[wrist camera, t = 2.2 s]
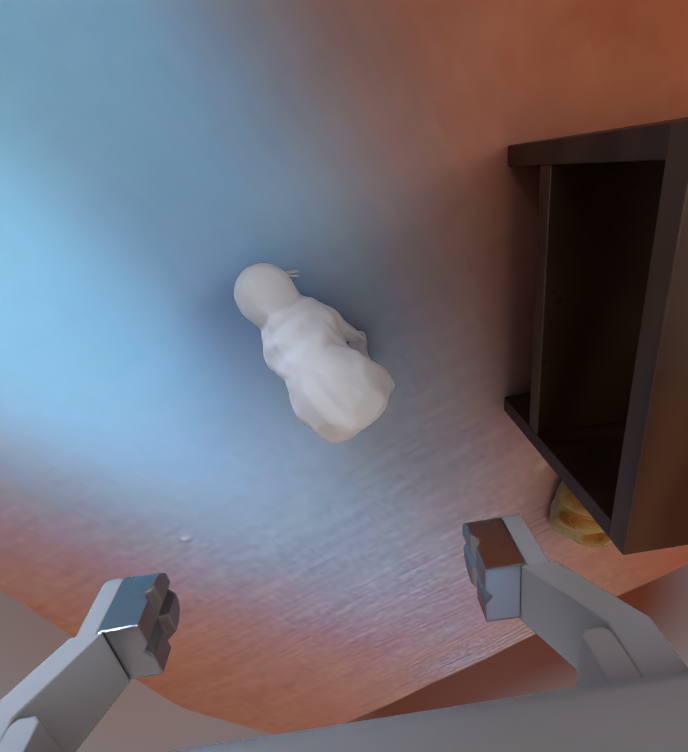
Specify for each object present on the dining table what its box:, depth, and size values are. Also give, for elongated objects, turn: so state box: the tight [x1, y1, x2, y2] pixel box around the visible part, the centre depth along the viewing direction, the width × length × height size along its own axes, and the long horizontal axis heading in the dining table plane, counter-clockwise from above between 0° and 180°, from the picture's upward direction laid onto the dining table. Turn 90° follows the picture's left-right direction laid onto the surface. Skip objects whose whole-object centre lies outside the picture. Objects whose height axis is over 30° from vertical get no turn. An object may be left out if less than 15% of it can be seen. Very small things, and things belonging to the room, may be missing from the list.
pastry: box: [550, 481, 613, 547], centre depth 38 cm, size 9×7×4 cm
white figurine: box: [234, 263, 395, 443], centre depth 28 cm, size 6×8×12 cm
